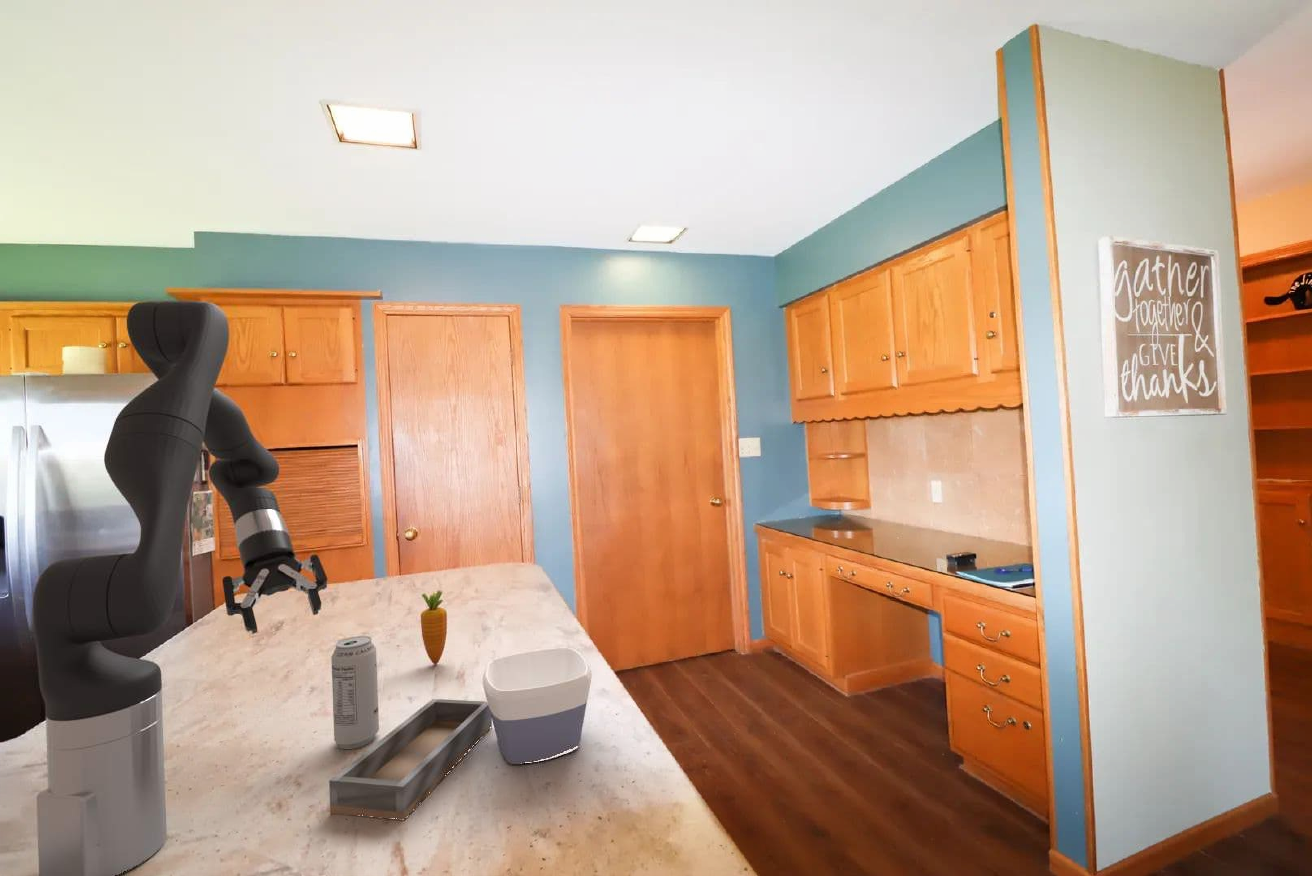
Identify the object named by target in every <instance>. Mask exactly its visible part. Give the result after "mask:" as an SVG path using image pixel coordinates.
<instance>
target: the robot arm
mask: <svg viewBox="0 0 1312 876" xmlns="http://www.w3.org/2000/svg"><path fill="white" fill-rule="evenodd" d="M228 321H229V320H228V319H227V316H226V314H225V312H224V311H223V309H221V308H220V307H219V306H218V305H217V304H215V303H213V302H207V301H201V300H165V301H164V300H162V301H161V300H152V301H140V302H137V303H135V304H133V305H132V306H131V307H130V309H128V312H127V315H126V330H127V334H128V337H129V340H130V343H131V345H132V347H133V348H134V350H135V351H136V353H137V355H138V356H139V358H140V359H141V360H142V362H143V363H144V364H145V365H146V366H147V368H148V369H149V371H151V373H152V374H153V375H154V376H155V377H156V378H157V380H156V381H155V382H153V384H151V385H149V386H148V387H147V388H145V389H144V390H143V391H141V392H140V393H139V394H137V395H136V396H135V397H134V398H132V399H131V400H130V401H129V402H128V403H127V404H126V405H125V406H124V407H123V408H122V409H121V411H120V412H119V413H118V415H117V417H116V418H115V420H114V424H113V426H112V428H111V431H110V432H111V433H110V436H109V438H108V442H107V443H106V444H107V445H106V448H105V451H104V455H103V457H104V459H103V463H104V467H105V470H106V472H107V474H108V476H109V478H110V480H111V481H112V482H113V485H114V486H115V488H116V489H117V490H118V492H119V493H120V494H121V496H123V498H124V499H125V501H127V503H128V505H129V506H130V507H131V509H132V511H133V512H134V514H135V517H136V518H137V520H138V523H139V527H140V535H139V536H140V537H139V543H138V546H137V548H136V549H135V551H134V552H132V553H119V554H107V555H98V556H97V555H96V556H95V555H94V556H86V557H73V558H67V559H62V560H57V561H56V562H53V563H51V564H50V565H49V566H47V567H46V568H45V570H43V572H42V573H41V574H40V576H39V578H38V581H36V585H35V588H34V593H33V596H32V597H33V599H32V622H33V623H32V624H33V626H32V627H33V633H34V640H35V641H34V642H35V648H36V658H37V669H38V683H39V689H40V690H39V691H40V693H41V697H42V699H43V702H44V706H45V725H46V726H45V729H46V730H45V731H46V761H47V762H46V765H47V766H46V767H47V769H46V770H47V789H44V790H42V791H40V792H38V794H37V796H36V816H37V817H36V819H37V849H38V850H37V852H38V854H37V855H38V856H37V857H38V876H115V875H118V874H120V875H122V874H124V873H125V872H124V871H126V870H128V871H130V870H131V869H134V868H135V867H137V866H139V865H140V864H143V863H144V862H146V860H148V859H149V858H151V857H152V856H153V855H154V854H156V853H157V852H158V851H159V850H160V849H161V848H162V847H163V846H164V844H165V842H166V840H167V838H168V837H167V835H168V834H167V833H168V831H167V808H166V807H167V804H166V803H167V802H166V778H165V777H166V775H165V748H164V746H165V745H164V721H163V719H164V718H163V686H162V685H163V684H162V669H161V668H160V666H159V665H158V663H156V662H154V661H151V660H148V659H143V658H141V659H140V658H137V657H129V656H125V655H121V654H118V653H115V652H114V651H112V650H109V649H107V648H106V647H104V646H103V644H102V643H101V642H102V641H110V640H119V639H124V638H125V639H126V638H133V637H139V636H140V637H141V636H144V635H149V634H153V633H156V632H158V631H160V629H162V628H163V627H164V626H165V625H166V623H167V622H168V620H169V618H170V617H171V614H172V612H173V609H174V605H175V602H176V598H177V597H176V596H177V592H178V584H179V578H180V571H181V570H180V568H181V559H182V558H181V557H182V551H183V541H184V540H183V539H184V533H185V532H184V531H185V527H186V524H185V523H186V518H187V511H188V507H189V502H190V498H191V493H192V490H193V486H194V481H195V477H196V473H197V470H198V466H199V463H200V462H199V461H200V458H201V457H200V456H201V452H202V448H203V444H204V446H205V448H206V449H207V451H208V452H209V454H211V456H212V457H214V458H216V460H214V461H213V462H212V463H211V465H210V467H209V470H208V476H209V479H210V482H211V484H212V485H213V487H215V490H217V492H219V494H220V495H221V496H222V497H223V499H224V500H225V502H226V503H227V506H228V507H229V510H230V513H231V516H232V522H233V524H234V529H235V531H234V532H235V533H234V534H235V539H236V540H235V541H236V547H237V549H238V552H239V556H240V560H241V564H242V568H243V575H242V576H237V577H232V576H230V575H226V576H224V577H223V578H222V586H223V593H224V601H225V609H226V610H225V611H226V614H227V616H229V617H231V616H234V615H241V616H242V620H243V624H244V630H245V631H246V632H247V633H249V632H250V631H251V633H252V635H254V634H257V633H258V626H257V622H256V616H255V612H254V607H255V606H256V604H258V603H259V601H260V599H261V598H262V596H263V595H264V596H267V597H268V596H271V595H274V594H276V593H280V592H281V593H282V592H285V591H289V590H290V588H292V589H294V590H295V591H298V592H303V593H304V594H306V595H307V599H308V600H307V601H308V603H309V605H310V606H309V607H310V609H311V611H312V612H311V613H312V615H313V616H315V615H318V614H319V611H320V610H322V600H321V598H320V597H321V596H320V594H319V592H320V591H321V590H325V589H327V587H328V576H327V574H326V572H325V569H324V566H323V565H322V563H321V559H320V557H319V555H318V554H311V555H310V557H309V558H307V559H304V560H299V559H298V558H297V556H296V553H295V550H294V547H293V543H292V540H291V537H290V533H289V529H288V527H287V524H286V522H285V520H284V518H283V516H282V513H281V509H280V507H279V504H278V500H277V497H276V494H275V493H274V492H273V491H272V490H270V489H268V488H265V487H264V486H268V485H269V484H272V483H273V482H275V481H276V480H277V479H278V477H279V474H280V467H279V464H278V461H277V459H276V457H275V456H274V455H273V454H272V453H271V452H270V451H269V450H268V449H267V448H266V447H265V446H264V445H263V444H262V443H261V442H260V441H259V440H258V439H257V438H256V437H255V435H254V434H253V432H252V430H251V428H250V425H249V423H248V421H247V419H246V416H245V415H244V413H243V411H242V409H241V408H240V407H239V405H238V404H237V403H236V402H234V401H233V400H232V399H231V398H230V397H229V396H227V395H226V394H224V392H222V391H220V390H219V389H217V388H216V384H217V382H218V378H219V376H220V372H221V370H222V367H223V364H224V362H225V358H226V356H227V352H228V348H229V344H230V343H229V342H230V327H229V322H228ZM303 569H305V570H306V571H307V572H310V573H312V574H313V575H314V576H313V577H314V578H315V582H314V581H312V580H310V579H308V578H307V577H306V576H305V575H304V574H302V573H301V572H302V570H303ZM241 585H244V586H246V587H247V588H249V589H248V591H247V593H246V595H245V597H244V598H243V600H242V601H241V602H236V599H235V593H236V592H237V591H239V590H240V586H241ZM143 861H144V862H143ZM136 865H137V866H136ZM134 866H135V867H134ZM133 867H134V868H133ZM129 869H130V870H129ZM123 872H124V873H123ZM126 872H127V871H126ZM121 873H122V874H121ZM118 876H119V875H118Z"/></svg>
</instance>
